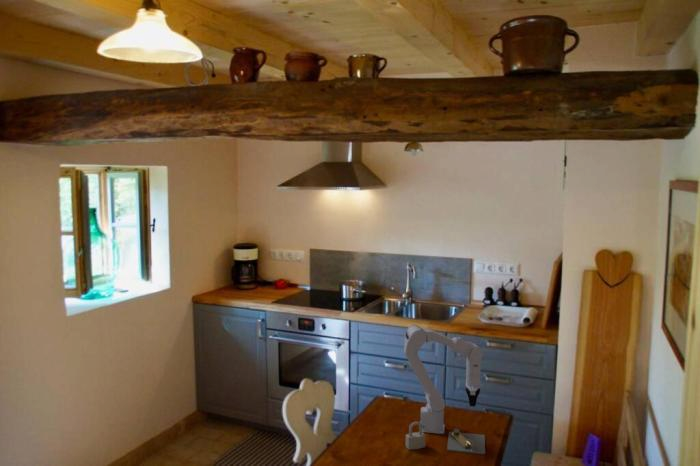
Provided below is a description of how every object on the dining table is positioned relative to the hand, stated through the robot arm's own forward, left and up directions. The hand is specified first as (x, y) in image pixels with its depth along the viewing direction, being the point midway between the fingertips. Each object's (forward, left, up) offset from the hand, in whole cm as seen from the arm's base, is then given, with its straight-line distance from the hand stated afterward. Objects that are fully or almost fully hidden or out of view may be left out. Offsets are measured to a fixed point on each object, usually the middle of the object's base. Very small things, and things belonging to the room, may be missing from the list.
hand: (472, 405), depth 234 cm
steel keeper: (0, -19, -9) cm, 21 cm away
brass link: (-4, -15, -9) cm, 17 cm away
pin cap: (-6, -11, -7) cm, 14 cm away
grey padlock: (-21, -22, -10) cm, 32 cm away
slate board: (-2, -15, -9) cm, 18 cm away
